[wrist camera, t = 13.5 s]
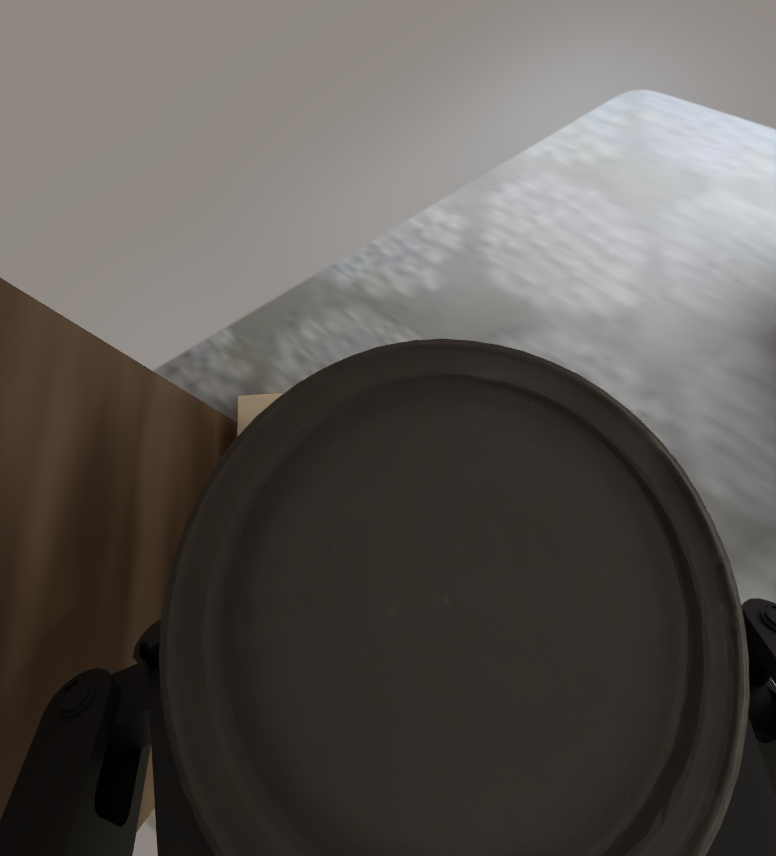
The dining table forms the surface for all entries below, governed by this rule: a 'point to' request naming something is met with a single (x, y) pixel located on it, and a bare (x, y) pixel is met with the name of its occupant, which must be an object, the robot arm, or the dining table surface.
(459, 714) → the coffee can
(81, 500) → the walnut shelf
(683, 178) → the dining table surface
